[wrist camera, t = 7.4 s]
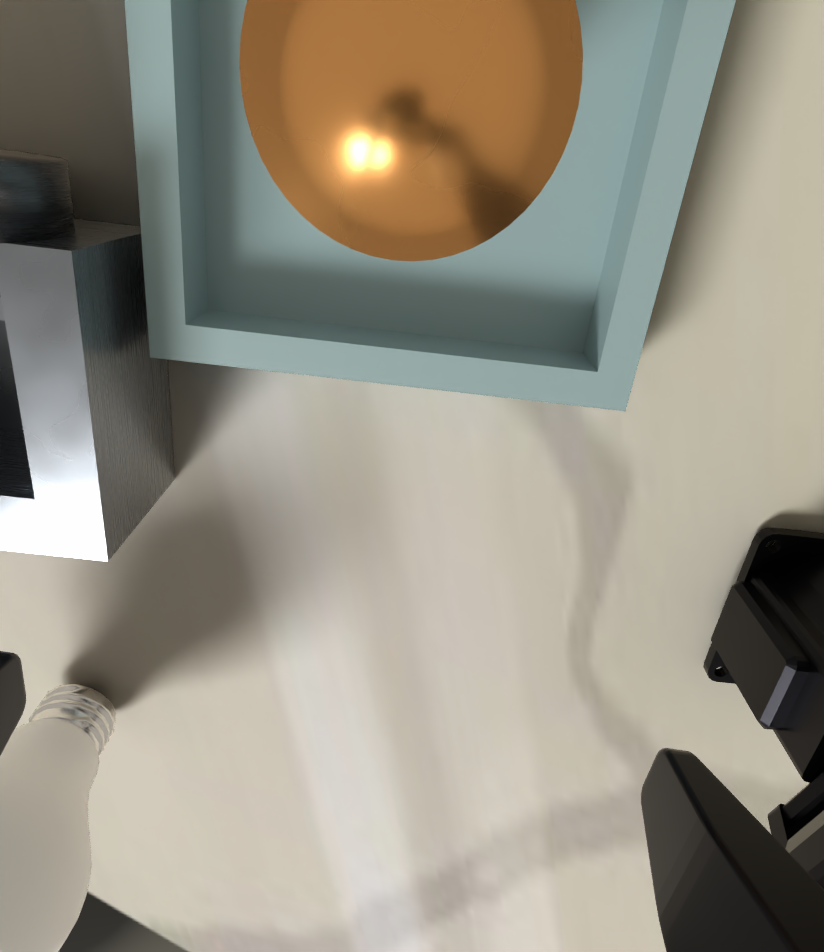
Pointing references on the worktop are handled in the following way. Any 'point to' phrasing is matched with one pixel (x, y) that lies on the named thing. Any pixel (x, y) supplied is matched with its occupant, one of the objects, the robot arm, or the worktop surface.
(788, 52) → the worktop surface
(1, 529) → the block
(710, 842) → the robot arm
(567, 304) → the tray
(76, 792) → the light bulb
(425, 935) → the worktop surface
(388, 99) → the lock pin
